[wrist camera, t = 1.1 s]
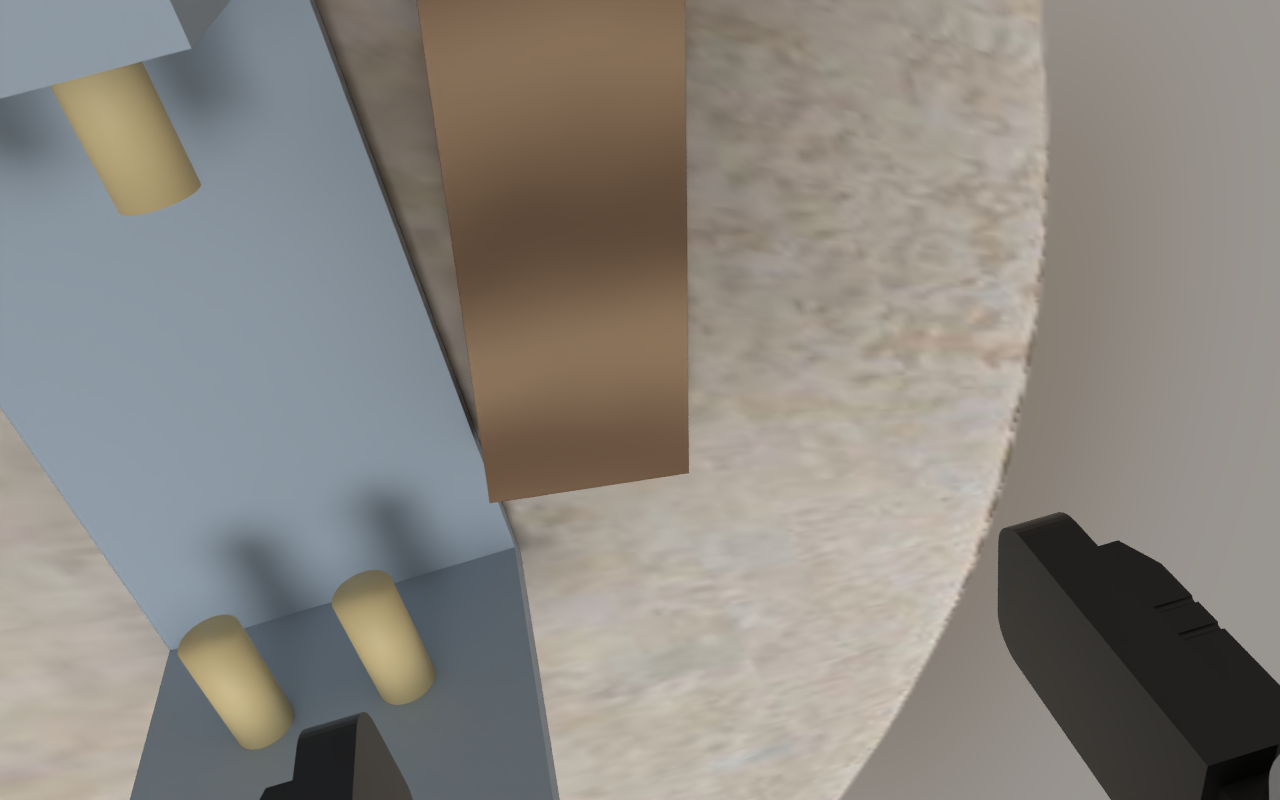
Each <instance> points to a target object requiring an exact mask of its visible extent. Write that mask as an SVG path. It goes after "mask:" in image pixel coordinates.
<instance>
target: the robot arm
mask: <svg viewBox="0 0 1280 800" xmlns="http://www.w3.org/2000/svg"><path fill="white" fill-rule="evenodd" d="M998 544H999V545H998V546H999V547H998V618H999V624H1000V628H1001V631H1002V635H1003V638H1004V640H1005V643H1006V645H1007V647H1008V650H1009V652H1010V654H1011V655H1012V657H1013V659H1014V660H1015V662H1016V664H1017V665H1018V666H1019V668H1020V670H1021V671H1022V672H1023V674H1024V675H1025V677H1026V678H1027V680H1028V681H1029V682H1030V684H1031V685H1032V687H1033V688H1034V690H1035V691H1036V692H1037V694H1038V695H1039V697H1040V698H1041V700H1042V701H1043V703H1044V704H1045V706H1046V707H1047V708H1048V710H1049V711H1050V713H1051V714H1052V716H1053V717H1054V718H1055V720H1056V721H1057V723H1058V724H1059V726H1060V727H1061V728H1062V730H1063V731H1064V733H1065V734H1066V736H1067V737H1068V739H1069V740H1070V741H1071V743H1072V744H1073V746H1074V747H1075V749H1076V750H1077V752H1078V753H1079V754H1080V756H1081V757H1082V759H1083V760H1084V762H1085V763H1086V764H1087V766H1088V767H1089V769H1090V770H1091V772H1092V773H1093V774H1094V776H1095V777H1096V779H1097V780H1098V782H1099V783H1100V785H1101V786H1102V787H1103V789H1104V790H1105V792H1106V793H1107V795H1108V796H1109V797H1110V799H1111V800H1280V685H1279V684H1278V683H1277V682H1276V681H1275V680H1274V679H1273V678H1272V677H1271V676H1270V675H1269V674H1268V673H1267V672H1266V671H1265V670H1264V669H1263V668H1262V667H1261V666H1260V665H1259V663H1258V662H1257V661H1256V660H1254V658H1252V656H1251V655H1250V654H1249V653H1248V652H1247V651H1246V650H1245V649H1244V648H1243V647H1242V646H1241V645H1240V644H1239V643H1238V642H1237V641H1236V640H1235V639H1234V638H1233V637H1232V636H1231V635H1230V634H1229V633H1228V632H1227V631H1226V630H1225V629H1220V627H1219V626H1218V621H1217V620H1215V619H1214V617H1213V616H1212V615H1211V614H1210V613H1209V612H1208V611H1207V610H1206V609H1205V608H1204V607H1203V606H1202V605H1201V604H1200V603H1199V602H1196V603H1195V602H1194V600H1193V598H1192V595H1191V594H1190V593H1189V592H1188V591H1187V590H1186V589H1185V588H1184V587H1183V586H1182V585H1181V584H1180V582H1178V581H1177V579H1175V578H1174V576H1173V575H1172V574H1171V573H1170V572H1169V571H1168V570H1166V568H1165V567H1164V566H1163V565H1162V564H1161V563H1159V562H1157V561H1155V560H1154V559H1152V558H1150V557H1148V556H1146V555H1144V554H1142V553H1140V552H1139V551H1137V550H1135V549H1133V548H1131V547H1129V546H1128V545H1125V544H1124V543H1122V542H1120V541H1115V542H1111V543H1108V544H1105V545H1101V546H1097V545H1096V543H1095V542H1094V541H1093V540H1092V539H1091V538H1090V537H1089V536H1088V535H1087V534H1086V533H1085V531H1084V530H1083V529H1082V528H1081V527H1080V526H1079V525H1078V524H1077V523H1076V522H1075V521H1074V520H1073V519H1072V518H1071V517H1070V516H1068V515H1067V514H1065V513H1061V512H1058V513H1055V514H1051V515H1048V516H1044V517H1041V518H1037V519H1034V520H1031V521H1027V522H1024V523H1020V524H1017V525H1013V526H1010V527H1007V528H1003V529H1002V530H1001V532H1000V535H999V543H998ZM259 800H413V799H412V796H411V792H410V790H409V787H408V785H407V783H406V781H405V779H404V777H403V776H402V774H401V772H400V770H399V768H398V766H397V764H396V762H395V761H394V759H393V757H392V755H391V753H390V751H389V749H388V747H387V746H386V744H385V742H384V740H383V738H382V736H381V734H380V733H379V731H378V729H377V727H376V725H375V723H374V721H373V720H372V718H371V717H370V715H369V714H368V713H366V712H361V713H358V714H354V715H351V716H348V717H344V718H341V719H337V720H334V721H330V722H327V723H323V724H320V725H317V726H313V727H310V728H306V729H303V730H302V731H301V733H300V735H299V738H298V741H297V748H296V756H295V764H294V772H293V780H291V781H288V782H284V783H281V784H278V785H274V786H271V787H267V788H265V790H264V792H263V794H262V796H261V798H260V799H259Z"/></svg>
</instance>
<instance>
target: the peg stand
mask: <svg viewBox="0 0 1280 800" xmlns="http://www.w3.org/2000/svg"><path fill="white" fill-rule="evenodd" d="M0 408H1V409H2V411H3V412H4V414H5V415H6V417H7V418H8V419H9V421H10V422H11V424H12V425H13V427H14V428H15V429H16V431H17V432H18V434H19V435H20V437H21V438H22V439H23V441H24V442H25V444H26V445H27V447H28V448H29V449H30V451H31V452H32V454H33V455H34V457H35V458H36V459H37V461H38V462H39V464H40V465H41V467H42V468H43V469H44V471H45V472H46V474H47V475H48V477H49V478H50V479H51V481H52V482H53V484H54V485H55V487H56V488H57V490H58V491H59V492H60V494H61V495H62V497H63V498H64V500H65V501H66V502H67V504H68V505H69V507H70V508H71V510H72V511H73V512H74V514H75V515H76V517H77V518H78V520H79V521H80V522H81V524H82V525H83V527H84V528H85V530H86V531H87V532H88V534H89V535H90V537H91V538H92V540H93V541H94V542H95V544H96V545H97V547H98V548H99V550H100V551H101V552H102V554H103V555H104V557H105V558H106V560H107V561H108V563H109V564H110V565H111V567H112V568H113V570H114V571H115V573H116V574H117V575H118V577H119V578H120V580H121V581H122V583H123V584H124V585H125V587H126V588H127V590H128V591H129V593H130V594H131V595H132V597H133V598H134V600H135V601H136V603H137V604H138V605H139V607H140V608H141V610H142V611H143V613H144V614H145V615H146V617H147V618H148V620H149V621H150V623H151V624H152V625H153V627H154V628H155V630H156V631H157V633H158V634H159V635H160V637H161V638H162V640H163V641H164V643H165V644H166V646H167V647H168V648H169V650H170V652H169V656H168V660H167V664H166V667H165V671H164V675H163V678H162V682H161V686H160V690H159V693H158V697H157V701H156V704H155V708H154V712H153V716H152V719H151V723H150V727H149V730H148V734H147V738H146V742H145V745H144V749H143V753H142V756H141V760H140V764H139V768H138V771H137V775H136V779H135V782H134V786H133V790H132V794H131V797H130V800H259V799H260V798H261V796H262V794H263V792H264V790H265V788H267V787H271V786H274V785H278V784H281V783H284V782H288V781H291V780H293V772H294V764H295V756H296V748H297V741H298V738H299V735H300V733H301V731H302V730H303V729H306V728H310V727H313V726H317V725H320V724H323V723H327V722H330V721H334V720H337V719H341V718H344V717H348V716H351V715H354V714H358V713H361V712H366V713H368V714H369V715H370V717H371V718H372V720H373V721H374V723H375V725H376V727H377V729H378V731H379V733H380V734H381V736H382V738H383V740H384V742H385V744H386V746H387V747H388V749H389V751H390V753H391V755H392V757H393V759H394V761H395V762H396V764H397V766H398V768H399V770H400V772H401V774H402V776H403V777H404V779H405V781H406V783H407V785H408V787H409V790H410V792H411V796H412V799H413V800H560V799H559V793H558V786H557V780H556V774H555V767H554V761H553V755H552V748H551V742H550V736H549V729H548V723H547V717H546V710H545V704H544V698H543V691H542V685H541V679H540V672H539V666H538V660H537V653H536V647H535V641H534V634H533V628H532V622H531V615H530V609H529V603H528V596H527V590H526V584H525V577H524V571H523V565H522V558H521V553H520V550H519V548H518V545H517V542H516V540H515V537H514V534H513V532H512V529H511V526H510V523H509V521H508V518H507V515H506V513H505V510H504V507H503V505H502V502H496V503H489V496H488V489H487V482H486V475H485V468H484V461H483V454H482V448H481V446H480V443H479V440H478V438H477V435H476V432H475V430H474V427H473V424H472V421H471V419H470V416H469V413H468V411H467V408H466V405H465V403H464V400H463V397H462V395H461V392H460V389H459V387H458V384H457V381H456V379H455V376H454V373H453V370H452V368H451V365H450V362H449V360H448V357H447V354H446V352H445V349H444V346H443V344H442V341H441V338H440V336H439V333H438V330H437V328H436V325H435V322H434V319H433V317H432V314H431V311H430V309H429V306H428V303H427V301H426V298H425V295H424V293H423V290H422V287H421V285H420V282H419V279H418V277H417V274H416V271H415V268H414V266H413V263H412V260H411V258H410V255H409V252H408V250H407V247H406V244H405V242H404V239H403V236H402V234H401V231H400V228H399V226H398V223H397V220H396V217H395V215H394V212H393V209H392V207H391V204H390V201H389V199H388V196H387V193H386V191H385V188H384V185H383V183H382V180H381V177H380V175H379V172H378V169H377V166H376V164H375V161H374V158H373V156H372V153H371V150H370V148H369V145H368V142H367V140H366V137H365V134H364V132H363V129H362V126H361V124H360V121H359V118H358V115H357V113H356V110H355V107H354V105H353V102H352V99H351V97H350V94H349V91H348V89H347V86H346V83H345V81H344V78H343V75H342V73H341V70H340V67H339V64H338V62H337V59H336V56H335V54H334V51H333V48H332V46H331V43H330V40H329V38H328V35H327V32H326V30H325V27H324V24H323V22H322V19H321V16H320V13H319V11H318V8H317V5H316V3H315V0H0Z"/></svg>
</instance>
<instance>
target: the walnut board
mask: <svg viewBox="0 0 1280 800" xmlns="http://www.w3.org/2000/svg"><path fill="white" fill-rule="evenodd" d="M417 6H418V12H419V19H420V26H421V33H422V40H423V47H424V54H425V61H426V68H427V75H428V82H429V88H430V95H431V102H432V109H433V116H434V123H435V130H436V137H437V144H438V151H439V157H440V164H441V171H442V178H443V185H444V192H445V199H446V206H447V213H448V220H449V226H450V233H451V240H452V247H453V254H454V261H455V268H456V275H457V282H458V289H459V296H460V302H461V309H462V316H463V323H464V330H465V337H466V344H467V351H468V358H469V365H470V371H471V378H472V385H473V392H474V399H475V406H476V413H477V420H478V427H479V434H480V440H481V447H482V454H483V461H484V468H485V475H486V482H487V489H488V496H489V503H496V502H502V501H509V500H516V499H522V498H529V497H535V496H542V495H548V494H555V493H561V492H568V491H574V490H581V489H588V488H594V487H601V486H607V485H614V484H620V483H627V482H633V481H640V480H646V479H653V478H660V477H666V476H673V475H679V474H686V473H689V437H688V310H687V183H686V55H685V0H417Z"/></svg>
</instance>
